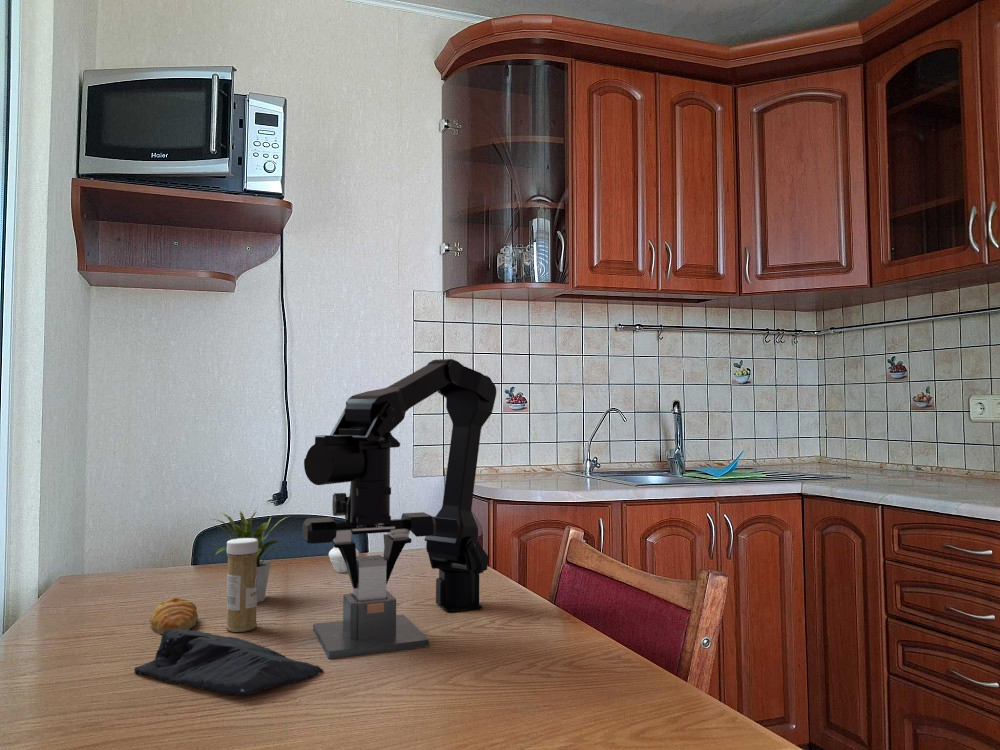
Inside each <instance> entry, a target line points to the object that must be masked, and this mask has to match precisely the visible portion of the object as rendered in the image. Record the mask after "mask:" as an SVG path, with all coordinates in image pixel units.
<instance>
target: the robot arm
mask: <svg viewBox="0 0 1000 750" xmlns="http://www.w3.org/2000/svg"><path fill="white" fill-rule="evenodd" d="M435 393H438V394H439V395H441V396H442V397H444V398H445V400H446V403H445V404H446V405H445V407H446V411H447V413H448V415H449V418H450V420H451V422H452V427H451V436H450V445H449V452H448V459H447V460H448V461H447V467H446V474H445V483H444V490H443V498H442V505H441V508H440V509H439V511H438V512H437V514H436V516H433V515H431V514H428V513H426V512H424V511H423V512H405V513H404V512H403V513H402V514H401V517H400V518H396V519H392V516H391V515H390V514H391V508H390V507H391V503H390V502H391V495H392V487H391V449H392V448H394V449H395V448H400V446H401V442H400V441H399V440H398V439H397V438H396V437H394V435H393V434H392V431H393V430H394V429H395V428H396V427H398V425H400V424H401V423H402V422H403V421H404V419H405V417H406V416H405V415H406V412H407V411H409V410H410V409H411V408H412V407H415V406H416V405H418V404H420V403H421V402H422V401H424V400H425V399H427V398H429V397H431V396H433V395H434V394H435ZM496 397H497V387H496V384H495V383H494V382H493V381H492V378H491V377H489V376H488V375H486V374H483V373H481V372H480V371H477V370H475V369H473V368H470V367H468V366H465V365H463V364H462V363H461V362H460V361H457V360H455V359H453V358H446V359H445V358H443V359H442V358H441V359H433V360H431V361H429V362H428V363H427V364H426V365H424V366H423V367H421V368H419V369H418V370H416V371H414V372H412V373H411V374H409V375H407V376H405V377H403V378H401V379H400V380H398V381H396V382H394V383H393V384H391V385H390V384H389V386H386V387H384V388H379V389H375V390H368V391H364V392H360V393H356V394H354V395H351V396H350V397H349V398H347V400H346V402H345V408H344V410H343V411H342V412H341V415H340V417H339V418H338V420H337V422H336V424H335V425H334V427H333V429H332V430H331V433H330V435H328V434H327V435H326V434H325V435H324V434H319V435H318V434H317V435H315V436H314V444H313V445H311V447H310V448H309V449H308V450H307V453H306V455H305V458H304V459H303V469H304V472H305V475H306V477H307V479H308V480H309V481H310V482H311V483H312V484H313V485H316V486H325V485H334V484H341V483H350V486H349V487H350V488H349V495H347V493H346V492H337V493H335V492H334V493H333V494H332V502H331V503H332V515H333V517H337V516H340V517H341V516H344V521H343V522H341V521H340V522H336V520H334V519H333V518H332V517H331V516H330V517H329V516H328V517H327V516H326V517H311V518H310V517H309V518H306V519H305V520H304V521H303V522H302V538H303V540H304V541H305V542H306V543H307V544H325V543H326V544H327V543H329V544H330V545H331V546H332V547H334V548H339V550H340V552H341V554H342V556H343V559H344V561H345V564H346V567H347V570H348V572H347V574H348V577H349V579H350V582H351V586H352V589H353V588H354V589H355V588H357V562H356V549H357V547H356V542H354V541H353V540H352V538H353V535H365V534H367V535H368V534H382V533H384V534H383V544H384V545H383V546H384V547H383V556H382V557H383V558H385V559H386V560H387V566H386V586H387V584H388V582H389V580H390V578H391V575H392V572H393V569H394V567H395V565H396V563H397V560H398V558H399V557H400V555H401V553H402V552H403V549H404V547H405V545H407V544H411V543H412V538H410V537H409V536H410V532H411V533H412V534H413V535H414V536H415V537H424V542H426V544H425V545H426V546H425V547H426V549H425V550H426V552H427V553H428V559H429V562H430V566H431V569H432V570H433V569H434V570H435V569H437V570H438V577H437V578H436V579H435V604H437V606H439V607H440V608H441V609H442V610H444V611H445V612H448V613H450V612H459V611H468V610H477V609H483V608H484V605H483V604H482V603H481V602H480V574H484V572H485V571H487V570H488V565H489V560H490V556H489V555H488V554H487V552H486V551H485V550H484V548H483V547H482V546H481V544H480V543H479V527H478V524H477V522H476V519H475V517H474V515H473V512H472V507H473V498H474V491H475V490H474V489H475V484H476V483H475V482H476V473H477V467H478V466H477V464H478V457H479V450H480V449H479V447H480V440H481V434H482V433H481V432H482V428H483V426H484V425H485V423H486V422H487V421H488V419H489V418H490V416H491V415H492V414H493V411H494V406H495V401H496Z"/></svg>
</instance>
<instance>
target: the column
mask: <svg viewBox="0 0 1000 750" xmlns="http://www.w3.org/2000/svg"><path fill="white" fill-rule="evenodd" d="M356 562H357V588H355V589H354V588H353V587H352V593H353V598H354V599H355V600H356V601H357V602H363V601H373V600H384V599H386V591H387V585H386V566H387V560H386V559H385V558H383V556H382V555H381V554H378V555H377V554H376V555H365V556H363V555H362V556H361V555H359V556H358V557H356Z"/></svg>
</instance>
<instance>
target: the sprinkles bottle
mask: <svg viewBox="0 0 1000 750" xmlns="http://www.w3.org/2000/svg"><path fill="white" fill-rule="evenodd" d="M226 543H227V545H226V547H227V549H226V550H227V551H226V554H227V573H226V609H227V611H226V614H227V615H226V616H227V617H226V626H225V629H226V630H227V631H228V632H231V633H232V632H233V633H244V632H249V631H252V630H255V629H256V628H257V626H258V622H257V605H258V602H257V552H258V540H257V539H254V538H253V537H252V538H238V539H236V538H232V540H231V539H229V540H228V541H227V542H226Z"/></svg>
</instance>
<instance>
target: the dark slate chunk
mask: <svg viewBox="0 0 1000 750" xmlns="http://www.w3.org/2000/svg"><path fill="white" fill-rule="evenodd" d="M323 672H324V669H322V668H321V666H319V665H314V664H311V663H309V662H305V661H299V660H294V659H291V658H288V657H287V656H286V655H283V654H281V653H279V652H277V651H275V650H272V649H271V648H269V647H265V646H262V645H261V644H260V645H259V644H257V643H254V642H252V641H249V640H245V639H242V638H240V637H232V636H224V635H218V634H212V633H211V632H210V633H209V632H204V631H197V630H190V629H189V630H176V629H169V630H165V631H163V634H162V635H161V638H160V644H159V647H158V649H157V650H156V653H155V658H154V659H153V660H151V661H149V662H147V663H145V664H142V665H139V666H135V667H134V673H135V674H139V675H140V676H143V675H144V676H145V675H148V676H151V677H153V678H155V679H157V680H159V681H163V682H168V683H170V684H175V685H187V686H192V687H194V688H197V689H202V690H203V691H211V692H216V693H218V694H222V695H230V696H235V695H237V696H241V697H244V696H245V697H246V696H250V695H252V694H255V693H258V692H261V691H264V690H267V689H271V688H275V687H280V686H281V687H283V686H286V685H290V684H293V683H295V682H297V683H298V682H302V681H306V680H310V679H313V678H315V677H317V676H318V675H319V674H320V673H323Z"/></svg>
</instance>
